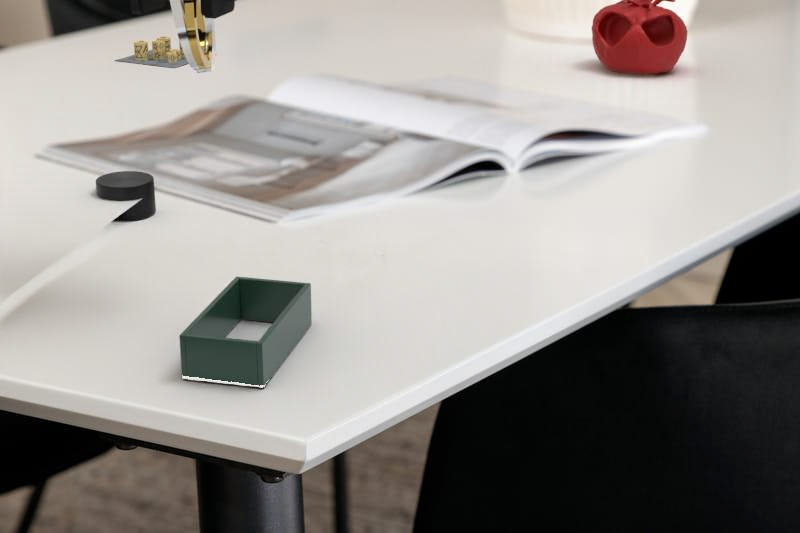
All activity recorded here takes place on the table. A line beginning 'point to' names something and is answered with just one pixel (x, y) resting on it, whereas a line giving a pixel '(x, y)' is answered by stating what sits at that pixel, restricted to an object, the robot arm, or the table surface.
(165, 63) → the dice set
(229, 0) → the robot arm
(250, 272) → the table surface
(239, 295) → the dark green hollow box
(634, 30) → the red rounded hollow piece
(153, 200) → the black round cut piece
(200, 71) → the ring
